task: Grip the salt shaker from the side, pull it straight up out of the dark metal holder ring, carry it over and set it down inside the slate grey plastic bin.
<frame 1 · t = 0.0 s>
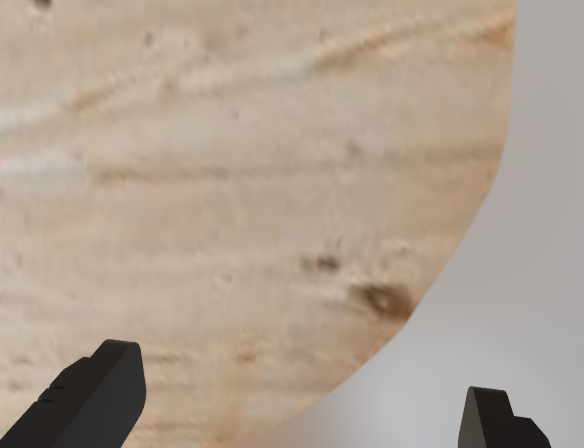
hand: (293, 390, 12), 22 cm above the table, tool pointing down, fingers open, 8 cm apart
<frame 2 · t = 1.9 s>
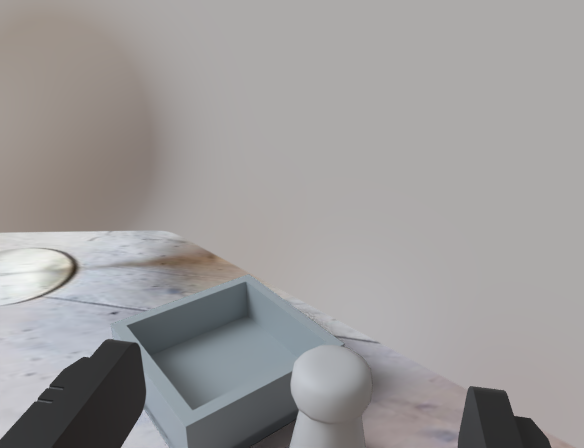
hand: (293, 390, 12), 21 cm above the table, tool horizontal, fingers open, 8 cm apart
bin: (227, 380, 43), on the table
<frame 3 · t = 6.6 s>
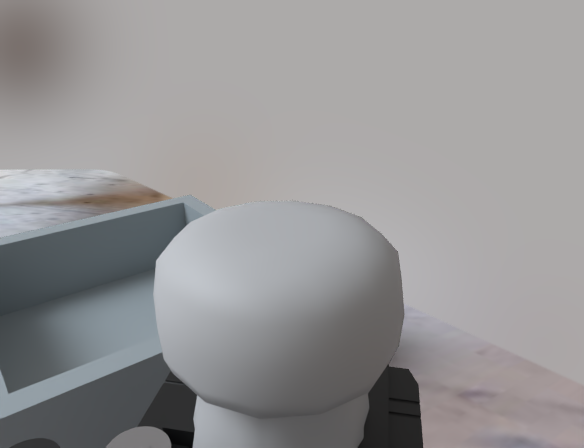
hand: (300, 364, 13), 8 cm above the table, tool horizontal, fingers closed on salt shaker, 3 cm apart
bin: (137, 351, 25), on the table
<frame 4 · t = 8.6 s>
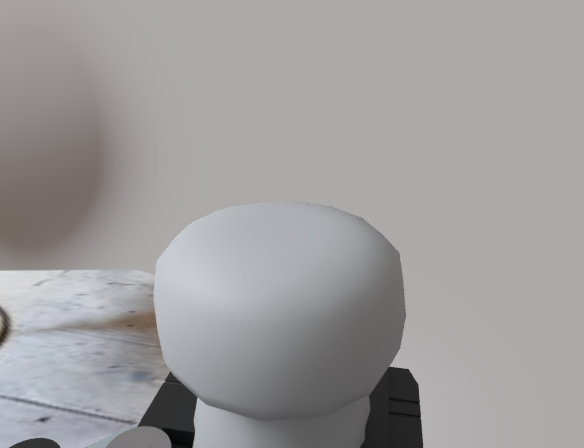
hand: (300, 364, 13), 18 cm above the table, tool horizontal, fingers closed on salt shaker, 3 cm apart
when the fingers open (10 cm above the table, at t = 11.0 s): salt shaker drops 1 cm, resting on bin.
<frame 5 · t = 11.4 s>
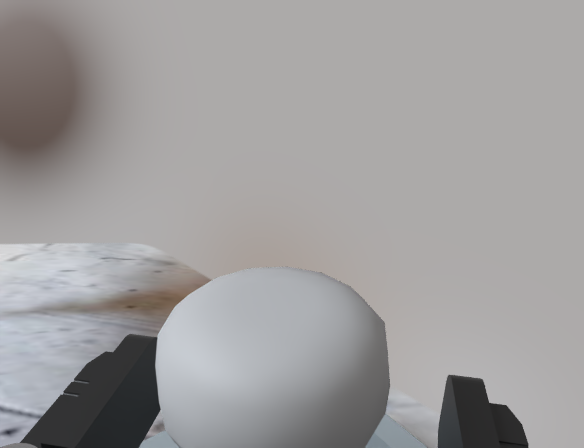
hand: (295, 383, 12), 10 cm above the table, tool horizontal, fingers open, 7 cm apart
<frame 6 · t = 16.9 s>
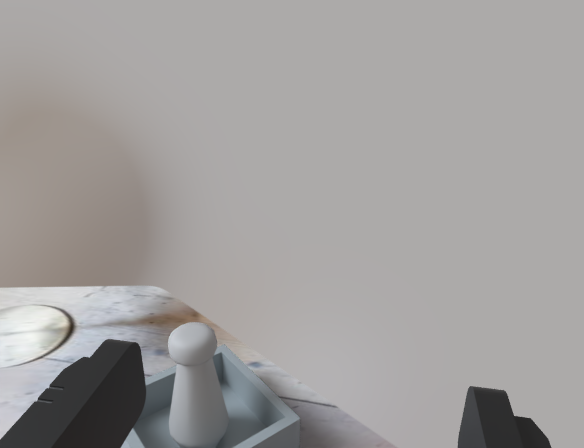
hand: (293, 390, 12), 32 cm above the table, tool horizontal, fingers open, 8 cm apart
bin: (202, 445, 49), on the table
salt shaker: (200, 440, 49), point 1 cm above the table, touching bin
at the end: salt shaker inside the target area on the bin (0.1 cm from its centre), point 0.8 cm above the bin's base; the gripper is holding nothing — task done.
